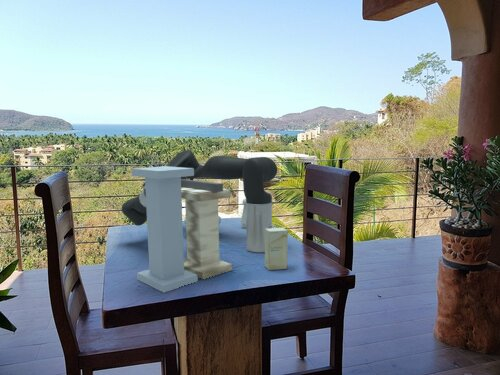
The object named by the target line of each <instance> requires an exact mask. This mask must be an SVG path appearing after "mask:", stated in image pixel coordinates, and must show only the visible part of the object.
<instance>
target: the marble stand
mask: <svg viewBox="0 0 500 375" xmlns="http://www.w3.org/2000/svg"><path fill="white" fill-rule="evenodd" d="M231 192H232V191H231V190H229V189H228V188H223V191H222V192H213V191H206V190H199V189H192V188H185V187H181V198H182V199H183V200H185V201H184V202H185V203H184V204H185V218H186V225H185V228H186V229H185V232H186V234H185V235H186V258H185V259H184V270H187V271H189V272H192V273H194V274H197V279H200V278H201V279H200V280H203V279H204V280H207V279H210V278H213V277H216V276H219V275H222V274H221V273H223V274H225V273H224V272H226V273H229V272H231V271H233V263H230V262H227V261H224V260H221V259H220V230H219V229H220V225H219V220H218V216H219V200H221V199H226V198H227V199H228V198H231V196H232V195H231ZM228 271H229V272H228ZM218 274H219V275H218ZM215 275H216V276H215ZM212 276H213V277H212ZM209 277H210V278H209ZM206 278H207V279H206Z"/></svg>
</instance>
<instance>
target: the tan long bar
mask: <svg viewBox="0 0 500 375" xmlns="http://www.w3.org/2000/svg"><path fill="white" fill-rule="evenodd" d="M181 188H192V189H199V190H206V191H213V192H222V191H223V189H224V184H223V183H220V182H211V181H203V180H193V179H188V178H186V179H181Z"/></svg>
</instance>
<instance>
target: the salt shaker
mask: <svg viewBox="0 0 500 375" xmlns="http://www.w3.org/2000/svg"><path fill="white" fill-rule="evenodd" d="M242 205H243V208H242V216H241V221H240V223H241V226H242V228H244V229H246V198H244V199H242Z"/></svg>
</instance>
